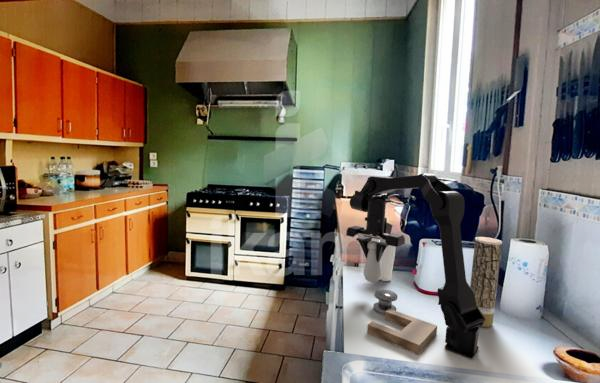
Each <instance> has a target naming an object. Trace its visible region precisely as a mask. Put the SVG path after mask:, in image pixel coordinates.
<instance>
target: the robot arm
mask: <svg viewBox="0 0 600 383" xmlns="http://www.w3.org/2000/svg"><path fill="white" fill-rule="evenodd" d="M410 189H420V191H421V194H422V197H423V199H424V200H425V201H426V202H427V203H428V204H429V208H430V210H431V214H432V217H433V218H434V220H435V222H436V223H437V224H438V227H439V232H440V233H439V234H440V242H441V251H442V260H443V261H442V262H443V263H442V264H443V271H444V273H443V274H444V284H443V286H442V287H439V288H437V296H438V303H437V305H440V309H441V312H442V313H443V318H444V323H445V324H444V325H445V326H447V327H446V330H445V339H444V342H445V345H444V348H445V349H446V350H448V351H450V352H453V353H456V354H458V355H461V356H463V357H466V358H469V359H474V357H475V356H476V354H477V352H478V351H479V348H480V347H479V346H478V340H479V333H480V331H479V330H480V327H481V326H482V325H483V324H484V322H485V318H484V316H483V315H482V313H481V311H480V310H479V308H478V307H477V305H476V301H475V297H474V293H473V291H472V289H471V288H470V285H469V283H468V282H467V276H466V267H465V260H464V259H465V258H464V251H463V243H462V242H463V241H462V231H461V223H462V221H463V218H464V215H465V207H466V206H465V205H466V204H465V203H466V202H465V201H466V200H465V197H464V196H463V195H462V194H461V193H460V192H458V191H456V190H454V189H453V188H452V187H451V186H449V185H448V184H446V183H445V182H443V181H442V180H440V179H439V177H437V176H436V175H435V174H433V173H421V174H420V173H419V174H417V175H416V174H414V175H406V176H399V177H398V176H396V177H392V176H385V175H384V176H381V175H380V176H375V175H373V176H372V175H371V176H368V178H367V179H366V182H365V183H364V185H363V187H362V188H361V190H354V194H353V195H352V196H351V197H350V199H349V205H350V208H351V209H353V210H355V211H360V212H363V213H366V216H365V217H364V221H366V226H365V227H363V226H359V225H354V226H353V225H352V226H350V227H347V229H346V237H350V238H355V237H356V236H357V238H356V239H355V240H356V241H357V242H358V243H359V245H360V247H361V249H362V251H363V254H364V257H365V260H366V259H367V255H368V251H369V249H368V248H367V244H368V242H369V241H373V240H372V239H376V240H380V242H379V243H377V244H376V260H377V262H379V261H380V259H381V257H382V255H383V253H384V251H385V249H386V247H387V246H388V245H390V246H395V247H397V248H398V247H401V246H402V245H405V243H406V238H405V236H404V235H403V234H400V233H395V232H393V233H392V229H393V224H391V223H389V222H387V221H388V219H387V217H386V208H387V207H386V206H387V205H386V204H387V203H388V204H389V203H392V199H391V198H390V197H389V195H388V194H389V193H392V192H395V191H397V190H410Z"/></svg>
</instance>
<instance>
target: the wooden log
mask: <svg viewBox="0 0 600 383" xmlns="http://www.w3.org/2000/svg"><path fill="white" fill-rule="evenodd" d="M502 247H503V240H500V239H497V238H495V237H488V236H476V237H475V239H474V249H473V256H472V257H473V258H472V267H471V273H470V274H471V277H470V285H469V286H470V288H471V289H472V291H473V293H474V297H475V301H476V305H477V307H478V308H479V310H480V311H481V313H482V315H483V316H484V318H485V322H484V324H483V325H482V326H480V327H483V328H489V327H492V325H493V324H494V316H495V307H496V298H497V290H498V282H499V272H500V267H501V266H500V265H501V257H502Z"/></svg>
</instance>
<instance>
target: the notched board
mask: <svg viewBox="0 0 600 383" xmlns="http://www.w3.org/2000/svg"><path fill="white" fill-rule="evenodd" d="M384 320H386V321H388V322H390V323H393V324H396V325H399V326H400V327H403V329H401V331H398V330H396V329H394V328H391V327H388V326H386V325H384V324H381V323H378V322H376V321H373V320H372V321H370V322H369V323H368V324H367V328H366V329H367V330H366V333H367V334H368V335H371V336H373V337H375V338H378V339H380V340H383V341H385V342H388V343H390V344H392V345H394V346H396V347H399V348H401V349H404V350H406V351H408V352H411V353H413V354H416V355H418V356H419V355H420V354H421V353H422V352H423V351H424V349H425V348H426V347H428V345H429V344H430V343H431V341H432V340H433V339H434V338H435V337H436V336H437V334H438V325H436V324H433V323H431V322H428V321H425V320H422V319H420V318H417V317H414V316H411V315H408V314H406V313H402V312H400V311H397V310H396V311H395V310H392V309H388V310H387V311H385V314H384Z"/></svg>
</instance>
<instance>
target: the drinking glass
mask: <svg viewBox="0 0 600 383" xmlns="http://www.w3.org/2000/svg"><path fill="white" fill-rule="evenodd" d="M377 242H380V239H378V241H377ZM395 256H396V247H395V246H390V245H388V246H387V247H386V249H385V251H384V253H383V255H382V257H381V259H380V268H381V276H380V278H379V280H378V281H382V282H390V281H391V280H392V274H393V267H394V264H395Z"/></svg>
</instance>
